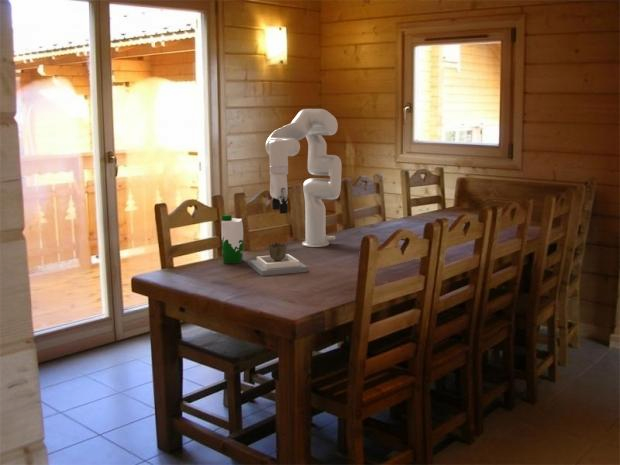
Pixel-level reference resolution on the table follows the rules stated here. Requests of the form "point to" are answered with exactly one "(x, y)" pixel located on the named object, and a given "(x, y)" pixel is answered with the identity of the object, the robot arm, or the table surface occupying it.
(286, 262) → the stand
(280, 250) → the cup
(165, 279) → the table surface
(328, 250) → the table surface
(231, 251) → the milk carton
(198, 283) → the table surface
